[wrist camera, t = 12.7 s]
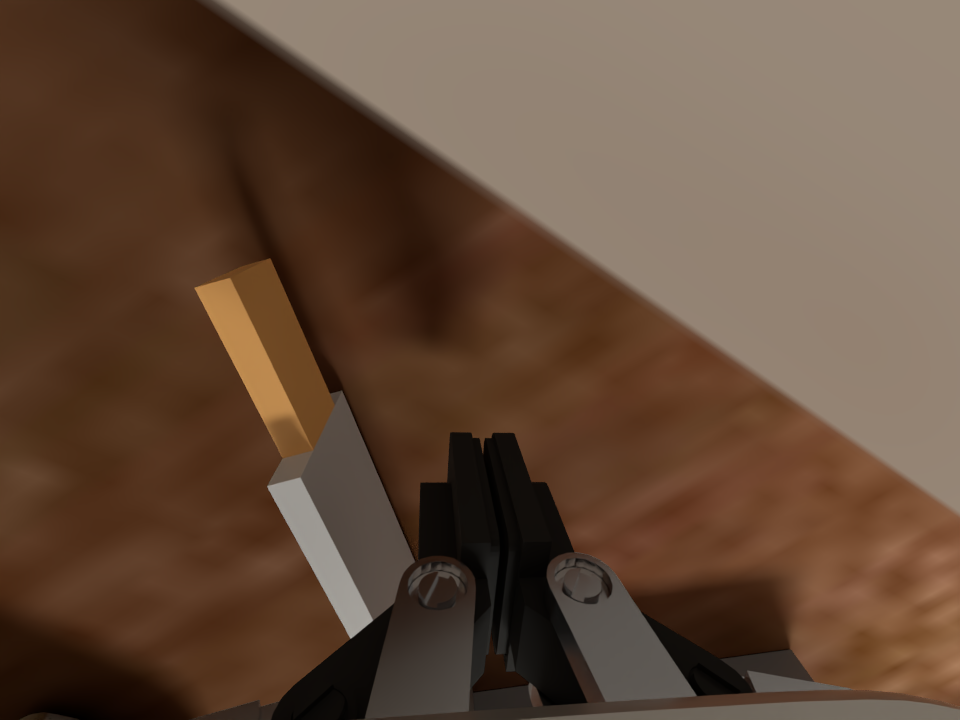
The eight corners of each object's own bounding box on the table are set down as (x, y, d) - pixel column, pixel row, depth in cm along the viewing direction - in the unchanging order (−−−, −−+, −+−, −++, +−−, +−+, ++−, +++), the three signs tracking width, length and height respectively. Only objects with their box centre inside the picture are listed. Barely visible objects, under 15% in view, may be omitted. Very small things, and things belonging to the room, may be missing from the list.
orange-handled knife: (475, 695, 21) (483, 827, 17) (452, 701, 21) (453, 834, 17) (288, 250, 13) (212, 287, 9) (250, 261, 13) (157, 303, 9)
